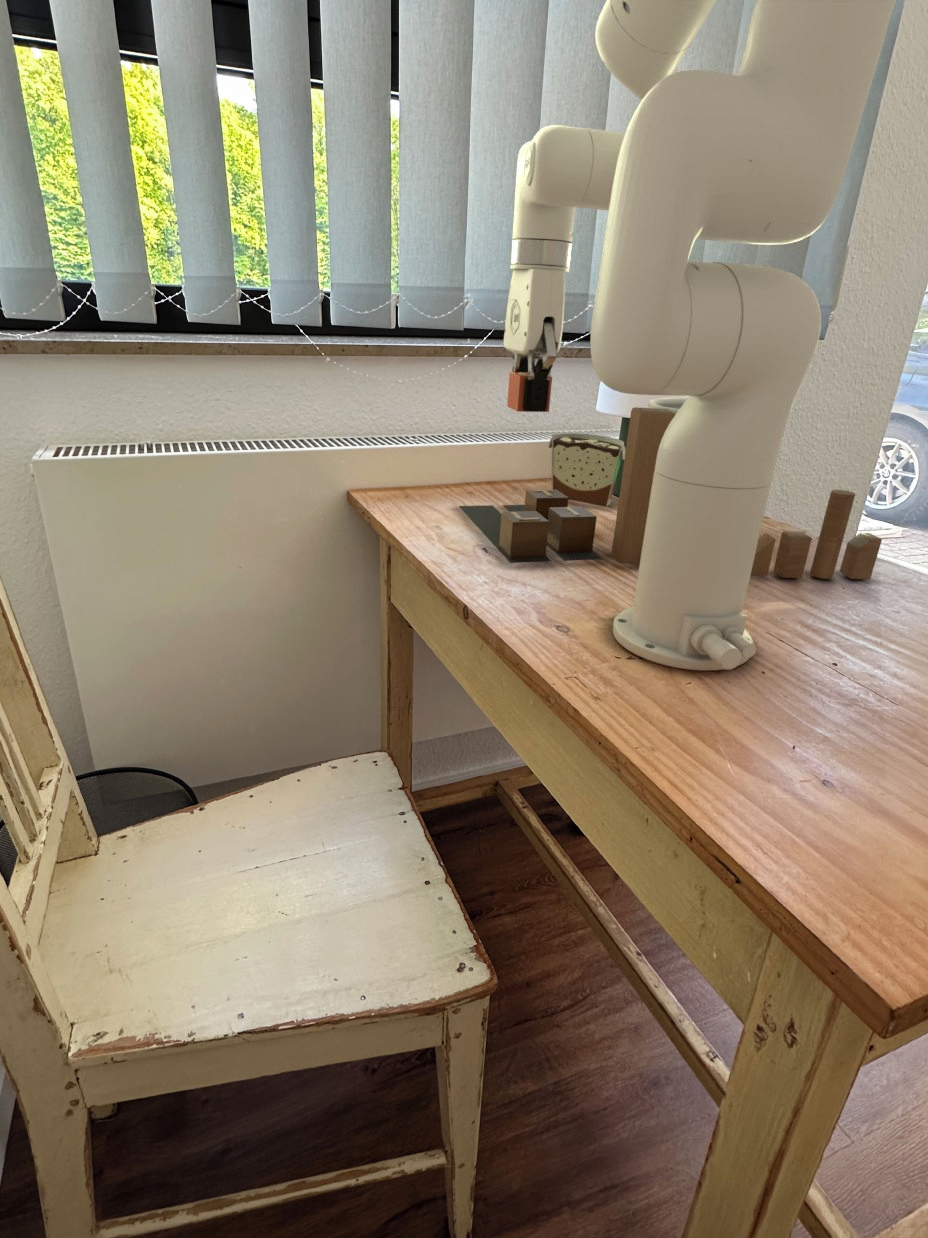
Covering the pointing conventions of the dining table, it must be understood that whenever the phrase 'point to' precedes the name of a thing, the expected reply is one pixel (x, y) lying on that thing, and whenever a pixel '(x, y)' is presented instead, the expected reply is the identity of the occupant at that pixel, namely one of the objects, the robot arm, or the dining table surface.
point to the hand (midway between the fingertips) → (528, 406)
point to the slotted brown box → (571, 529)
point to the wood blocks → (821, 547)
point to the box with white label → (523, 534)
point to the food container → (586, 466)
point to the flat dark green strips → (490, 525)
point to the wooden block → (638, 481)
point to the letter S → (521, 391)
